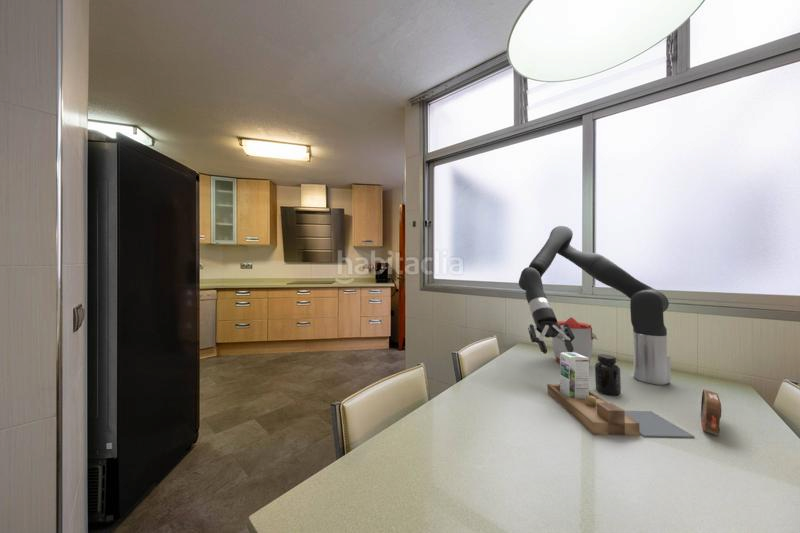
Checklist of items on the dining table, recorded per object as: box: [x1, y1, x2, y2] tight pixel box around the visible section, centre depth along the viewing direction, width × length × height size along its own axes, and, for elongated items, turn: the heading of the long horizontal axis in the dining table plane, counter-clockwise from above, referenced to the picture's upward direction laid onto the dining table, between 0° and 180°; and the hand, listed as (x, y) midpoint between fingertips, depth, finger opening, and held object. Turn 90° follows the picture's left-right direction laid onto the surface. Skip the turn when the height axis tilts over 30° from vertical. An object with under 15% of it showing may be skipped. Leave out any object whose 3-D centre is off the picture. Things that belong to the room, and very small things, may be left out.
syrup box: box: [559, 352, 590, 399], centre depth 85 cm, size 6×6×14 cm
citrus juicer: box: [551, 317, 599, 363], centre depth 121 cm, size 16×17×20 cm
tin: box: [700, 388, 722, 436], centre depth 71 cm, size 15×3×8 cm, turn 134°
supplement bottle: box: [594, 353, 622, 397], centre depth 92 cm, size 7×7×12 cm
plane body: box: [546, 383, 641, 436], centre depth 79 cm, size 11×23×6 cm, turn 178°
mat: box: [624, 410, 696, 439], centre depth 73 cm, size 12×12×1 cm
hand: (558, 352), depth 94 cm, fingers open, 8 cm apart
